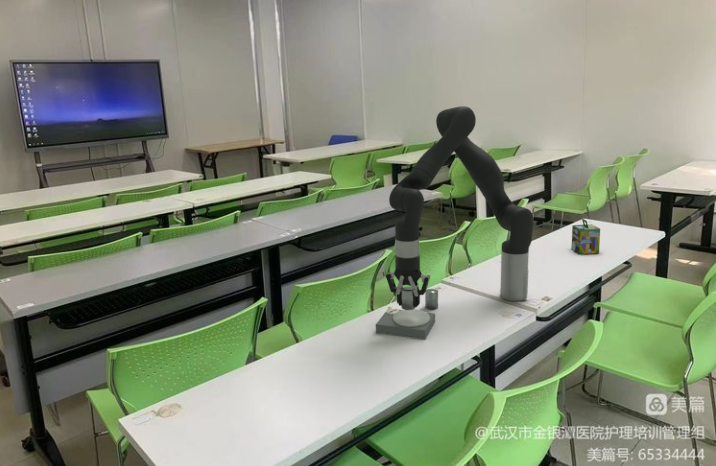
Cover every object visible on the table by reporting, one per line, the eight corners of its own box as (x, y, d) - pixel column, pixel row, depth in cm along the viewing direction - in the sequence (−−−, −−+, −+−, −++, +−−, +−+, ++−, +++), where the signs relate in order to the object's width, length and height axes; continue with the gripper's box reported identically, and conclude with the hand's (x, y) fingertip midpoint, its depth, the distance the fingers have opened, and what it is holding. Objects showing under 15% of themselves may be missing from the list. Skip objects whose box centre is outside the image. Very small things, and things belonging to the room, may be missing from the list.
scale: (435, 321, 173) (435, 310, 172) (425, 339, 161) (425, 327, 160) (388, 316, 179) (388, 305, 178) (376, 333, 167) (375, 321, 166)
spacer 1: (417, 305, 166) (416, 287, 164) (413, 310, 162) (413, 292, 160) (403, 303, 168) (403, 286, 166) (399, 309, 164) (399, 291, 162)
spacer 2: (438, 305, 186) (439, 289, 185) (436, 310, 182) (436, 293, 180) (426, 304, 187) (426, 288, 186) (424, 308, 183) (424, 292, 182)
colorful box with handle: (599, 254, 233) (601, 221, 229) (578, 255, 233) (580, 222, 229) (590, 248, 242) (592, 216, 238) (570, 248, 242) (572, 217, 238)
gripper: (433, 251, 161) (433, 303, 165) (388, 248, 166) (390, 298, 171) (427, 258, 154) (427, 312, 159) (381, 255, 159) (382, 307, 164)
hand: (408, 305), depth 165 cm, fingers closed on spacer 1, 4 cm apart
